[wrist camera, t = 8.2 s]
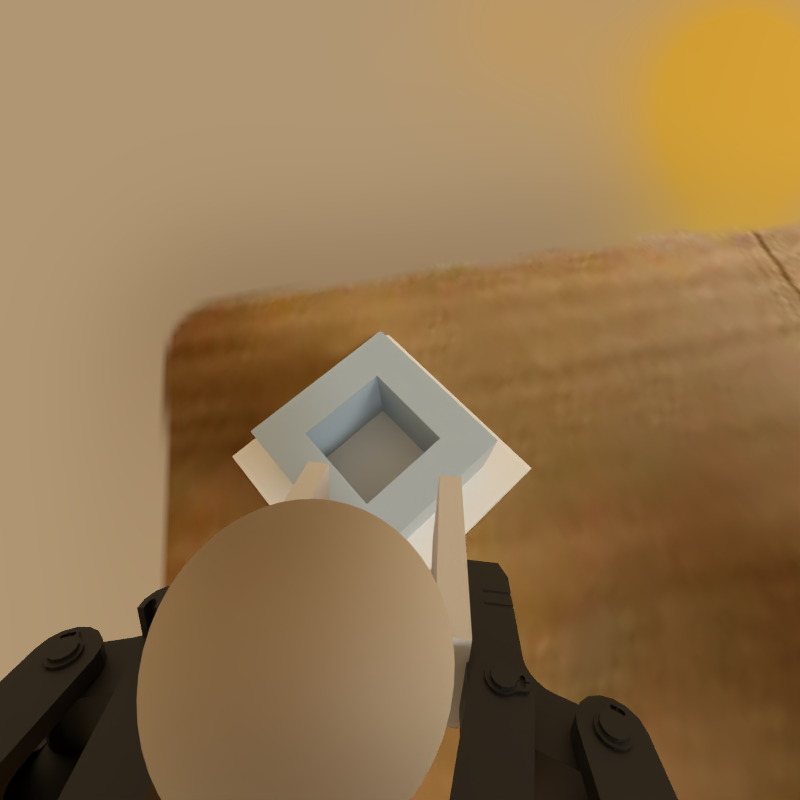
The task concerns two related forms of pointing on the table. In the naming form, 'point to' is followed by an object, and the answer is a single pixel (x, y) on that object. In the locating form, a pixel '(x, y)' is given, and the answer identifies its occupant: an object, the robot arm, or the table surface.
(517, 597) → the table surface
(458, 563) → the robot arm
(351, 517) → the birch peg
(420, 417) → the socket block
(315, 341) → the table surface
